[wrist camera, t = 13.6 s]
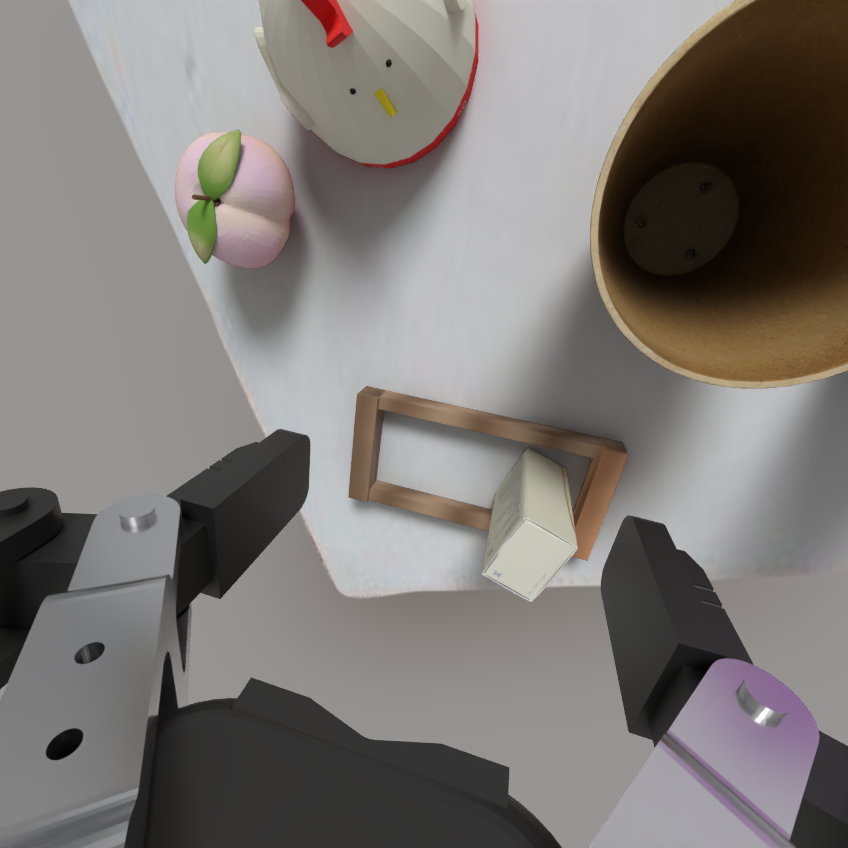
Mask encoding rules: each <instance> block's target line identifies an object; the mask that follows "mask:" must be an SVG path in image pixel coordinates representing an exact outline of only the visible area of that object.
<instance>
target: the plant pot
mask: <svg viewBox="0 0 848 848" xmlns="http://www.w3.org/2000/svg"><path fill="white" fill-rule="evenodd" d="M704 183H707V186H706V188H705V189H703V190H701V189H700V188H701V186H702V185H703V184H704ZM638 222H643V223H644V226H642V227H639V226H638V225H637V223H638ZM590 248H591V258H592V266H593V271H594V275H595V280H596V284H597V287H598V290H599V293H600V296H601V298H602V300H603V303H604V305H605V307H606V309H607V311H608V313H609V314H610V316H611V318H612V320H613V321H614V323H615V324H616V325H617V327H618V328H619V329H620V331H621V332H622V333H623V334H624V335H625V337H626V338H627V339H628V340H629V341H630V342H631V343H632V344H633V345H634V346H635V347H636V348H637V349H638V350H640V351H641V352H642V353H643V354H645V355H646V356H647V357H648V358H650V359H651V360H653V361H654V362H656V363H657V364H659V365H661V366H663V367H665V368H667V369H669V370H671V371H673V372H675V373H677V374H679V375H682V376H684V377H687V378H690V379H693V380H696V381H700V382H704V383H708V384H712V385H718V386H724V387H734V388H775V387H783V386H791V385H796V384H802V383H807V382H811V381H816V380H820V379H824V378H827V377H831V376H834V375H836V374H839V373H842V372H845V371H848V0H735V1H734V2H733V3H731V4H730V5H728V6H727V7H725V8H724V9H723V10H721V11H720V12H718V13H717V14H716V15H714V16H713V17H712V18H711V19H709V20H708V21H707V22H706V23H705V24H704V25H702V26H701V27H700V28H699V29H698V30H696V31H695V32H694V33H693V34H692V35H691V36H690V37H689V38H687V39H686V40H685V41H684V42H683V43H682V44H681V45H680V46H679V47H678V48H677V49H676V50H675V52H674V53H673V54H672V55H671V56H670V57H669V58H668V59H667V60H666V61H665V62H664V63H663V65H662V66H661V67H660V68H659V69H658V71H657V72H656V73H655V74H654V75H653V77H652V78H651V79H650V80H649V82H648V83H647V85H646V86H645V87H644V89H643V90H642V92H641V93H640V95H639V96H638V97H637V99H636V100H635V102H634V103H633V105H632V106H631V108H630V110H629V112H628V113H627V115H626V117H625V118H624V120H623V122H622V124H621V126H620V128H619V129H618V131H617V133H616V135H615V137H614V140H613V142H612V144H611V146H610V149H609V151H608V153H607V156H606V158H605V161H604V164H603V167H602V170H601V173H600V176H599V180H598V183H597V187H596V191H595V196H594V201H593V207H592V215H591V226H590ZM691 250H693V251H694V256H691V255H690V251H691Z"/></svg>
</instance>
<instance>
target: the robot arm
mask: <svg viewBox="0 0 848 848" xmlns="http://www.w3.org/2000/svg"><path fill="white" fill-rule="evenodd" d="M309 467H310V439H309V437H308V436H307V435H303V434H299V433H295V432H291V431H287V430H283V429H278V430H276V431H275V432H274V433H272V434H271V435H269V436H268V437H267V438H265V439H264V440H262V441H261V442H260V443H258V442H255V443H252V444H249V445H246V446H243V447H240V448H237V449H235V450H234V451H232V452H231V453H229V454H228V455H226V456H225V457H223V458H222V460H221V461H220V460H219V461H217V462H216V463H215V464H213V465H212V466H210V469H206V470H204V471H203V472H201V473H200V474H198V475H197V476H195V477H194V478H192V479H191V480H189V481H188V482H187V483H185V484H183V485H182V486H181V487H179V488H178V489H176V490H175V491H173V492H172V493H170V494H169V495H167V496H162V495H140V496H134V497H130V498H127V499H123V500H120V501H118V502H115V503H114V504H111V505H109V506H108V507H106V508H105V509H103V510H102V511H101V512H100V513H99V514H74V513H61V509H60V505H59V501H58V498H57V496H56V494H55V493H54V492H52V491H50V490H47V489H42V488H18V489H11V490H6V491H2V492H0V689H1V688H2V687H3V686H5V685H6V684H7V686H6V688H5V691H4V693H3V695H2V698H1V700H0V848H561V846H560V845H559V843H558V842H557V841H556V840H555V838H554V837H553V836H552V834H551V833H550V832H549V831H548V830H547V829H546V828H545V826H543V824H542V823H541V822H540V821H539V820H538V819H537V818H536V817H535V816H534V815H533V814H532V813H531V812H530V811H528V810H527V809H526V808H525V807H524V806H523V805H522V804H521V803H519V802H518V801H516V800H515V799H514V798H512V797H511V796H510V795H508V785H509V783H508V782H509V767H506V766H503V765H500V764H498V763H495V762H492V761H489V760H486V759H483V758H480V757H477V756H475V755H472V754H469V753H466V752H463V751H460V750H457V749H454V748H452V747H449V746H446V745H443V744H436V743H418V742H401V741H383V740H371V739H368V738H365V737H363V736H362V735H360V734H359V733H357V732H356V731H355V730H353V729H352V728H350V727H349V726H348V725H346V724H345V723H344V722H342V721H341V720H340V719H338V718H337V717H335V716H334V715H333V714H331V713H330V712H329V711H327V710H326V709H324V708H323V707H322V706H320V705H319V704H317V703H316V702H315V701H313V700H312V699H311V698H308V697H305V696H303V695H300V694H297V693H294V692H291V691H288V690H285V689H283V688H279V687H277V686H274V685H271V684H268V683H265V682H263V681H260V680H257V679H253V678H251V679H250V680H249V682H248V683H247V685H246V686H245V688H244V689H243V691H242V692H241V694H240V695H239V697H238V698H226V699H214V700H208V701H203V702H198V703H194V704H191V705H188V671H189V653H190V634H191V633H190V632H191V617H192V609H191V602H192V601H193V600H194V599H195V597H197V595H198V594H199V593H203V594H206V595H209V596H212V597H215V598H219V599H221V598H222V597H223V595H224V594H225V593H226V592H227V591H228V590H229V589H230V588H231V586H232V585H233V584H234V583H235V582H236V581H237V580H238V579H239V577H240V576H241V575H242V574H243V573H244V572H245V571H246V570H247V568H248V567H249V566H250V565H251V564H252V563H253V562H254V561H255V559H256V558H257V557H258V556H259V555H260V554H261V553H262V552H263V550H264V549H265V548H266V547H267V546H268V545H269V544H270V543H271V541H272V540H273V539H274V538H275V537H276V536H277V535H278V534H279V532H280V531H281V530H282V529H283V528H284V527H285V526H286V525H287V523H288V522H289V521H290V520H291V519H292V518H293V517H294V516H295V514H296V513H297V512H298V511H299V510H300V509H301V507H302V506H303V504H304V502H305V500H306V497H307V493H308V489H309ZM601 594H602V599H603V604H604V609H605V614H606V620H607V625H608V630H609V635H610V640H611V644H612V650H613V655H614V660H615V665H616V670H617V675H618V680H619V685H620V690H621V695H622V701H623V705H624V711H625V715H626V720H627V726H628V730H629V732H630V733H633V734H636V735H639V736H642V737H645V738H648V739H651V740H653V743H654V747H655V748H654V750H653V752H652V753H651V754H650V756H649V757H648V759H647V760H646V762H645V763H644V765H643V766H642V768H641V769H640V771H639V772H638V774H637V775H636V777H635V778H634V780H633V781H632V783H631V784H630V786H629V787H628V789H627V790H626V791H625V793H624V794H623V796H622V797H621V799H620V801H619V802H618V803H617V805H616V806H615V808H614V809H613V811H612V812H611V814H610V815H609V817H608V818H607V820H606V821H605V823H604V824H603V826H602V827H601V829H600V830H599V832H598V833H597V835H596V836H595V838H594V839H593V841H592V842H591V843H590V845H589V847H588V848H848V746H847V745H845V744H843V743H841V742H839V741H837V740H835V739H833V738H832V737H830V736H828V735H826V734H824V733H822V732H821V731H819V730H818V727H817V724H816V722H815V720H814V718H813V716H812V714H811V713H810V711H809V710H808V709H807V707H806V706H805V705H804V704H803V703H802V701H801V700H800V699H799V698H798V697H797V696H796V695H795V694H794V693H793V692H792V691H791V690H790V689H789V688H788V687H787V686H785V685H784V684H783V683H782V682H780V681H779V680H778V679H776V678H775V677H774V676H772V675H770V674H769V673H767V672H766V671H764V670H762V669H760V668H758V667H757V666H754V665H753V663H752V661H751V659H750V657H749V655H748V653H747V651H746V649H745V648H744V646H743V644H742V642H741V640H740V638H739V636H738V634H737V632H736V631H735V629H734V627H733V625H732V623H731V621H730V619H729V617H728V616H727V614H726V612H725V610H724V609H722V604H721V602H720V600H719V598H718V596H717V595H716V593H715V592H713V587H712V585H711V583H710V581H709V579H708V578H707V576H706V574H705V572H704V570H703V569H702V568H701V567H700V566H699V565H698V564H697V563H696V562H695V561H694V560H693V559H692V558H691V557H690V556H689V555H688V554H687V553H686V552H685V551H681V550H677V549H676V547H675V545H674V543H673V541H672V539H671V537H670V534H669V532H668V530H667V528H666V526H665V525H664V524H662V523H658V522H654V521H650V520H646V519H642V518H638V517H634V516H627V517H625V519H624V520H623V522H622V524H621V527H620V529H619V531H618V534H617V536H616V539H615V541H614V543H613V546H612V548H611V551H610V553H609V556H608V558H607V560H606V563H605V565H604V568H603V572H602V578H601Z"/></svg>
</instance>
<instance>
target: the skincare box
mask: <svg viewBox="0 0 848 848" xmlns="http://www.w3.org/2000/svg"><path fill="white" fill-rule="evenodd" d="M577 549H578V547H577V540H576V533H575V526H574V519H573V512H572V505H571V498H570V492H569V485H568V478H567V471H566V469H565V468H563V467H562V466H560V465H558V464H557V463H555V462H553V461H551V460H550V459H548V458H546V457H544V456H543V455H541V454H539V453H537V452H536V451H534V450H532V449H530V448H527V449H526V450H525V452H524V453H523V454H522V456H521V457H520V458H519V460H518V461H517V462H516V464H515V465H514V467H513V468H512V469H511V471H510V472H509V474H508V475H507V476H506V478H505V479H504V481H503V482H502V484H501V485H500V487H499V488H498V490H497V491H496V493H495V499H494V505H493V510H492V516H491V522H490V529H489V534H488V541H487V547H486V553H485V559H484V564H483V571H482V575H484V576H486V577H487V578H489V579H491V580H492V581H494V582H496V583H497V584H499V585H501V586H503V587H504V588H506V589H508V590H510V591H511V592H513V593H515V594H517V595H519V596H520V597H522V598H524V599H526V600H528V601H530V602H531V601H533V600H534V599H535V598H536V597H537V596H538V595H539V594H540V593H541V591H542V590H543V589H544V588H545V587H546V586H547V585H548V584H549V583H550V582H551V580H552V579H553V578H554V577H555V576H556V574H557V573H558V572H559V571H560V570H561V569H562V567H563V566H564V565H565V564H566V563H567V561H568V560H569V559H570V558H571V557H572V556H573V554H574V553H575V552H576V550H577Z"/></svg>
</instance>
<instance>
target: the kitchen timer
mask: <svg viewBox="0 0 848 848" xmlns="http://www.w3.org/2000/svg"><path fill="white" fill-rule="evenodd" d="M259 3H260V10H261V17H262V24H263V27H256V28H255V29H254V34H255V38H256V41H257V44H258V47H259V49H260V51H261V54H262V56H263V58H264V61H265V63H266V65H267V67H268V69H269V71H270V74H271V76H272V78H273V80H274V83H275V85H276V87H277V89H278V92H279V95H280V98H281V100H282V102H283V103H284V105H285V106H286V107H287V109H288V110H289V111H290V112H291V113H292V115H293V116H294V117H295V118H296V119H297V120H298V121H299V122H300V123H301V124H302V125H303V126H304V127H305V128H306V129H307V130H310V129H311V130H312V131H313V132H314V133H315V134H316V135H317V136H318V137H319V138H321V139H322V140H323V141H324V142H325V143H326V144H327V145H329V146H330V147H331V148H332V149H333V150H334V151H335V152H337V153H339V154H341V155H343V156H345V157H347V158H349V159H352V160H354V161H356V162H358V163H361V164H363V165H365V166H369V167H382V168H393V167H397V166H401V165H404V164H408V163H412V162H415V161H416V160H418V159H419V158H421V157H422V156H424V155H425V154H427V153H428V152H430V151H431V150H433V149H434V148H436V147H437V146H438V145H439V144H440V143H441V141H442V140H443V139H444V138H445V137H446V136H447V134H448V133H449V132H450V131H451V130H452V129H453V127H454V126H455V125H456V123H457V121H458V119H459V117H460V115H461V113H462V111H463V109H464V107H465V105H466V103H467V101H468V99H469V97H470V94H471V90H472V86H473V81H474V77H475V73H476V68H477V64H478V22H477V18H476V14H475V10H474V5H473V1H472V0H259Z"/></svg>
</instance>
